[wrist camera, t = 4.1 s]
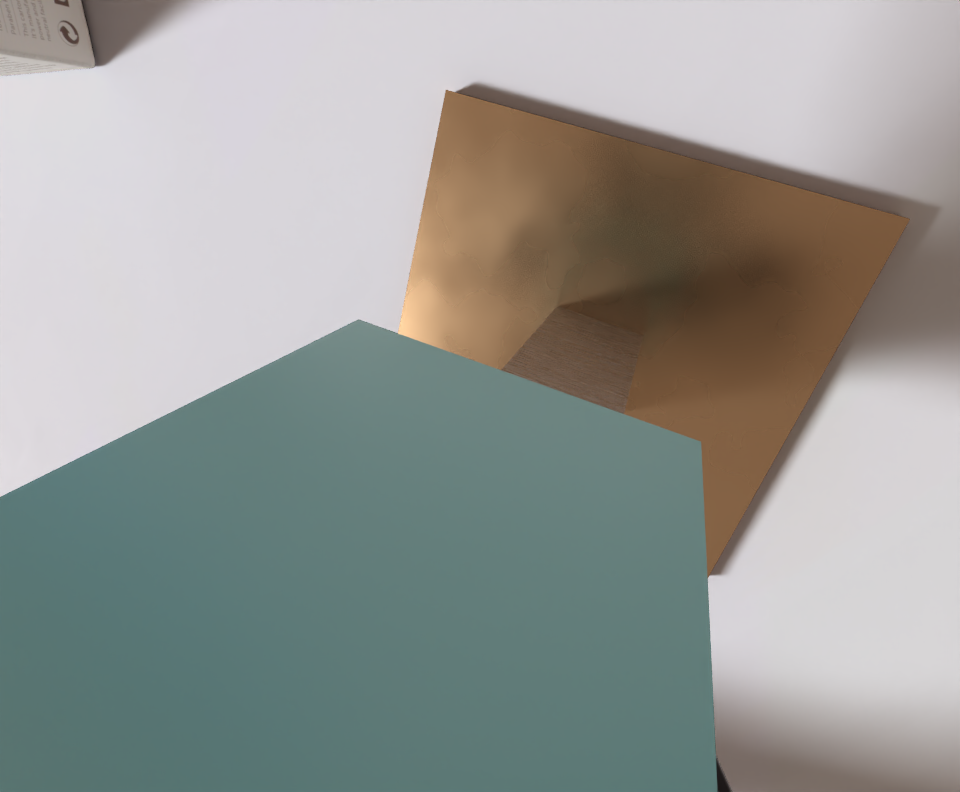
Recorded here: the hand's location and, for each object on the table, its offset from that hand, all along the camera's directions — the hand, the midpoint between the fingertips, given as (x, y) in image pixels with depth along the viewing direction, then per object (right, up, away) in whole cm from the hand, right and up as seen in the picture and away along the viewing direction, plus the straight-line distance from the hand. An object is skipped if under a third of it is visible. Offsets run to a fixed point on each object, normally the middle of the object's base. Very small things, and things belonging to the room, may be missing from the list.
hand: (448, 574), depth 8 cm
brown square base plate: (+4, +4, +10) cm, 11 cm away
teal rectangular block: (0, +1, +1) cm, 1 cm away
